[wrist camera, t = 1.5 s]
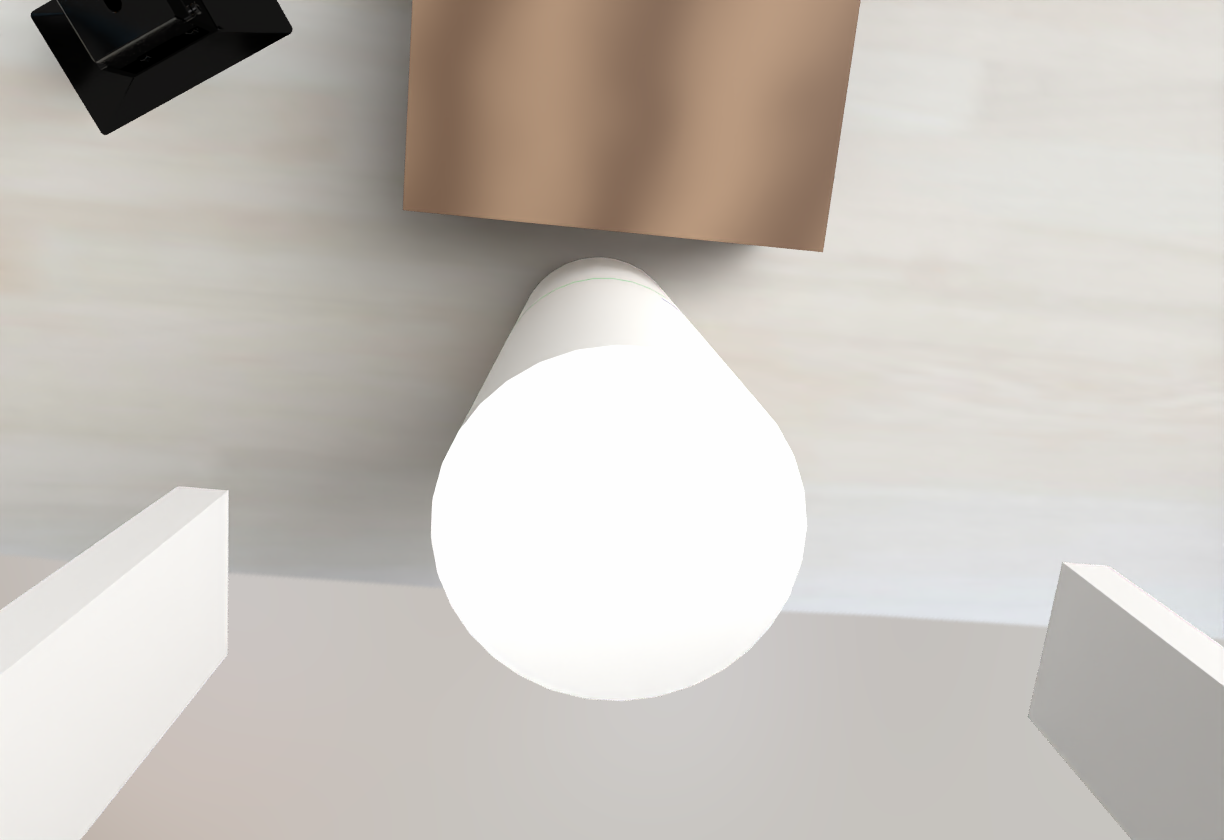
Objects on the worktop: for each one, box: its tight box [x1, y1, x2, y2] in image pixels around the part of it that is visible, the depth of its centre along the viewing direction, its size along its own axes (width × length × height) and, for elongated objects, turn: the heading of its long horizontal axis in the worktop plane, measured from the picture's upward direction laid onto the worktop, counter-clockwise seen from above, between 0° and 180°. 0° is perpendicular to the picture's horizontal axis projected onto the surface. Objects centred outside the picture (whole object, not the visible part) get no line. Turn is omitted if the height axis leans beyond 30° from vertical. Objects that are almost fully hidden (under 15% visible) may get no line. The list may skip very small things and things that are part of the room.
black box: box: [31, 0, 292, 135], centre depth 37 cm, size 12×7×5 cm, turn 117°
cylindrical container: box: [431, 257, 807, 701], centre depth 30 cm, size 7×7×25 cm
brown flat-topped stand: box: [403, 0, 860, 252], centre depth 35 cm, size 15×12×8 cm
